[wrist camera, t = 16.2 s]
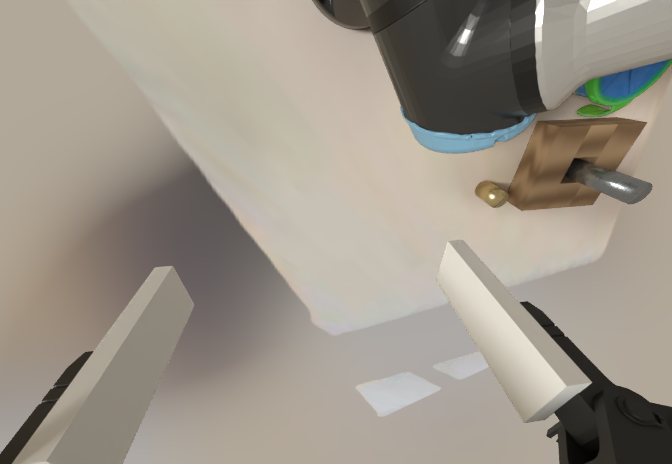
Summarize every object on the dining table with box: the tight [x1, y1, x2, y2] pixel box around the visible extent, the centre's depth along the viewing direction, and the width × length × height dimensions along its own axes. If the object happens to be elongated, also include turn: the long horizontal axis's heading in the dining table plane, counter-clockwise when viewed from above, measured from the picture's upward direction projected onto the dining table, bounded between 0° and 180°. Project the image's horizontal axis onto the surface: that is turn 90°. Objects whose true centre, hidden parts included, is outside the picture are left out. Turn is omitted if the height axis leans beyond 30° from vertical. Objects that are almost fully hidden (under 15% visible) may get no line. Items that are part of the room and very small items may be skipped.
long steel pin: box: [564, 158, 652, 204], centre depth 43 cm, size 4×4×15 cm
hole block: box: [507, 117, 647, 211], centre depth 47 cm, size 16×16×5 cm
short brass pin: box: [475, 181, 508, 208], centre depth 49 cm, size 4×4×5 cm
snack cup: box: [573, 59, 672, 117], centre depth 35 cm, size 16×10×10 cm
